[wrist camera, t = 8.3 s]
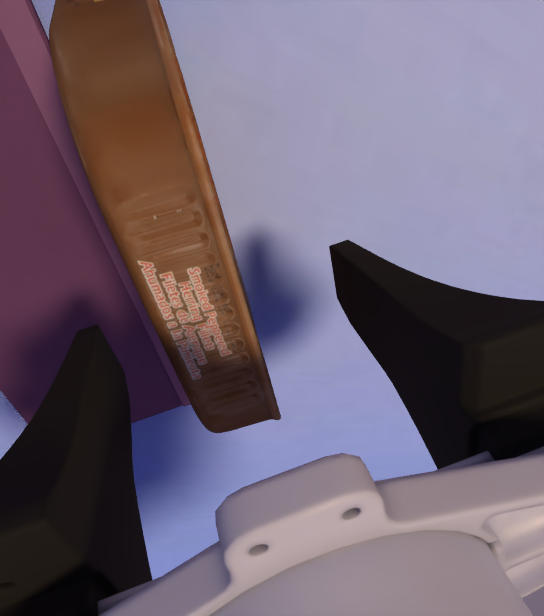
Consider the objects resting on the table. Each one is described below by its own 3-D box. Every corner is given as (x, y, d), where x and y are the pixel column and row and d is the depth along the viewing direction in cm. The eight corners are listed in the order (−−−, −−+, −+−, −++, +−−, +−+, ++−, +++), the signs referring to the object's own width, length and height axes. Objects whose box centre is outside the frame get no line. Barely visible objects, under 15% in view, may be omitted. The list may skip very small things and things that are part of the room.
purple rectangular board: (50, 445, 26) (50, 453, 26) (-309, 0, 13) (-321, 3, 13) (202, 392, 27) (204, 399, 27) (-3, -79, 14) (-6, -79, 14)
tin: (253, 319, 25) (310, 461, 19) (190, 341, 25) (226, 492, 18) (145, -53, 15) (186, -28, 9) (40, -25, 15) (4, 21, 9)
